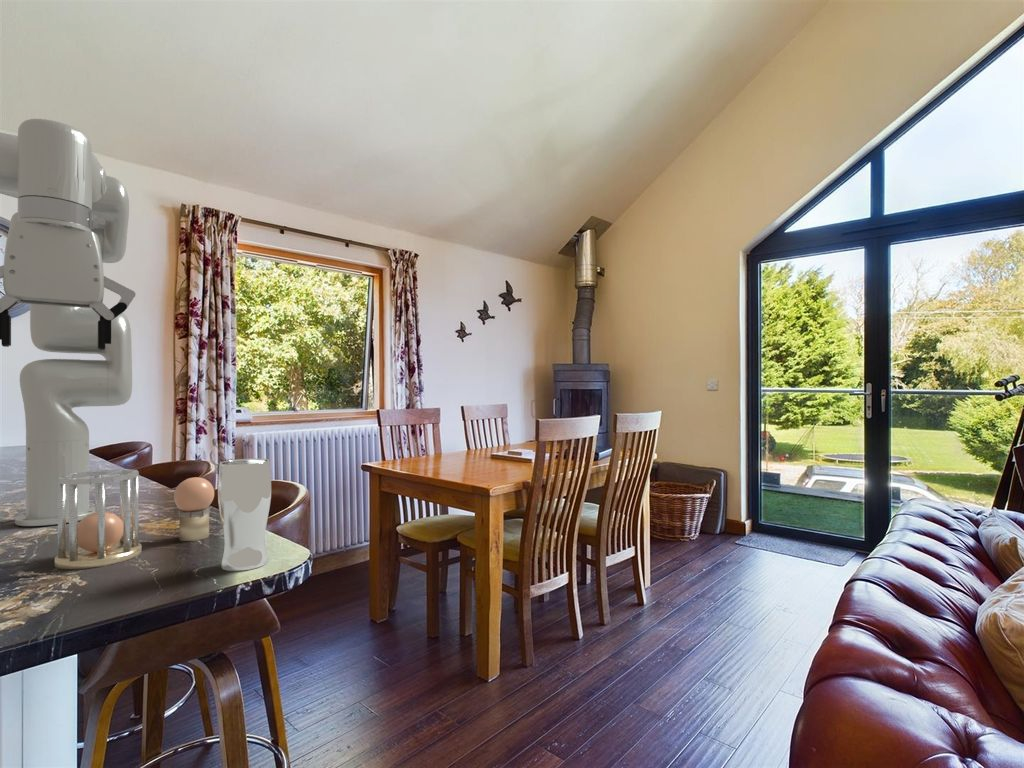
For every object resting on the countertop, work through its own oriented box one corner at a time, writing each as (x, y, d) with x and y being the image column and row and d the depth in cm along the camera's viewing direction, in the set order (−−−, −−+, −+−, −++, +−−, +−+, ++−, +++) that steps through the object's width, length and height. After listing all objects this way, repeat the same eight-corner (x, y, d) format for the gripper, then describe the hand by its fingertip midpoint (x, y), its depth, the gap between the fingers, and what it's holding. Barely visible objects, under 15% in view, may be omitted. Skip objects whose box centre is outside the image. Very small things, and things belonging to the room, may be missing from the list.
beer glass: (213, 563, 78) (213, 461, 78) (264, 553, 82) (263, 457, 82) (224, 576, 72) (223, 466, 72) (277, 565, 77) (277, 461, 77)
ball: (73, 550, 81) (73, 511, 81) (122, 542, 85) (122, 505, 85) (74, 560, 76) (74, 518, 76) (125, 551, 80) (125, 512, 80)
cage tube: (55, 556, 81) (55, 473, 81) (137, 543, 88) (137, 466, 88) (54, 574, 73) (54, 482, 73) (145, 558, 80) (145, 474, 80)
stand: (177, 537, 91) (177, 509, 92) (206, 532, 94) (206, 505, 94) (181, 542, 88) (181, 513, 88) (211, 537, 91) (211, 509, 91)
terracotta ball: (171, 511, 92) (171, 477, 92) (210, 506, 95) (210, 473, 96) (176, 518, 87) (176, 481, 87) (217, 512, 91) (217, 477, 91)
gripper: (132, 237, 79) (132, 351, 79) (-33, 213, 68) (-33, 346, 68) (137, 225, 73) (138, 348, 73) (-42, 197, 62) (-42, 342, 62)
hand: (56, 347), depth 71 cm, fingers open, 9 cm apart
